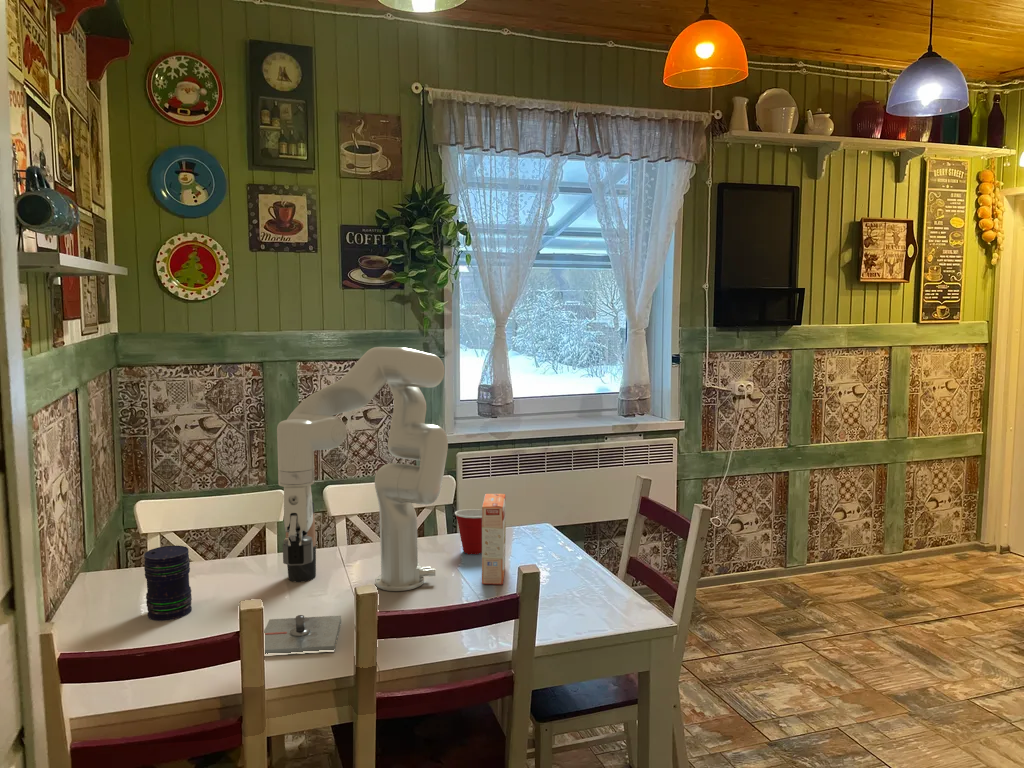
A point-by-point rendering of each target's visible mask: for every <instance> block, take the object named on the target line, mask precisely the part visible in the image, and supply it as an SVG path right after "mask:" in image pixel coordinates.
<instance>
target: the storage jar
mask: <svg viewBox="0 0 1024 768" xmlns="http://www.w3.org/2000/svg"><path fill="white" fill-rule="evenodd" d="M189 555H190V554H189V547H187V546H184V545H165V546H159V547H155V548H152V549H149V550H146V551H145V552H144V554H143V558H144V567H143V568H144V576H145V577H144V578H145V579H146V590H147V592H146V594H145V595H146V596H145V602H146V608H147V609H146V610H147V618H148V619H149V620H152V621H153V622H154V621H156V622H168V621H174V620H178V619H181V618H184V617H186V616H187V615H189V614H191V612H193V611H192V600H193V599H192V588H191V586H190V572H191V567H190V564H191V563H190V561H191V560H190V556H189Z"/></svg>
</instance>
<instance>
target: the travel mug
mask: <svg viewBox="0 0 1024 768" xmlns="http://www.w3.org/2000/svg"><path fill="white" fill-rule="evenodd" d="M312 508H313V523H312V525H311V527H310V529H309V530H308V531H307V535H305V536H310V537H312V541H313V561H312V562H311V563H308V564H305V565H294V566H290V565H287V564H286V565H287V577H288V580H289V581H290V580H291V581H290V582H293V581H296V582H295V583H302V582H301V581H305V582H309V581H311V579H312V580H314V579H315V578H316V576H317V553H316V552H317V548H316V547H317V546H316V544H317V543H316V542H317V541H316V538H317V537H316V520H315V519H316V518H315V504H314V502H313V501H312ZM288 535H289V532H288V533H287V532H286V531H285V538H288ZM313 578H314V579H313ZM308 580H309V581H308Z"/></svg>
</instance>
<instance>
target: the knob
mask: <svg viewBox="0 0 1024 768" xmlns="http://www.w3.org/2000/svg"><path fill="white" fill-rule="evenodd" d="M298 537H299V536H298ZM282 542H283V544H282V560H283V562H282V563H283V564H284V565H290V566H294V565H305V564H308V563H311V562H312V561H313V541H312V537H310V536H304V535H302V545H304V563H303V564H289V563H288V538H286V537H285V538H284V539H283V541H282Z"/></svg>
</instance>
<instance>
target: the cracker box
mask: <svg viewBox="0 0 1024 768" xmlns="http://www.w3.org/2000/svg"><path fill="white" fill-rule="evenodd" d="M481 510H482V553H481V585H503V584H504V577H505V570H506V535H507V534H506V533H507V532H506V528H507V527H506V526H507V525H506V524H507V522H506V520H507V519H506V518H507V517H506V514H507V513H506V494H505V493H485V494H484V497H483V502H482V506H481Z"/></svg>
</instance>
